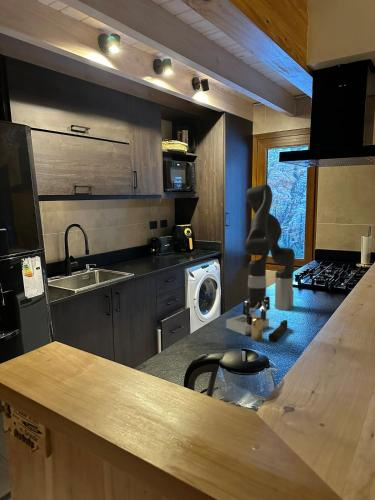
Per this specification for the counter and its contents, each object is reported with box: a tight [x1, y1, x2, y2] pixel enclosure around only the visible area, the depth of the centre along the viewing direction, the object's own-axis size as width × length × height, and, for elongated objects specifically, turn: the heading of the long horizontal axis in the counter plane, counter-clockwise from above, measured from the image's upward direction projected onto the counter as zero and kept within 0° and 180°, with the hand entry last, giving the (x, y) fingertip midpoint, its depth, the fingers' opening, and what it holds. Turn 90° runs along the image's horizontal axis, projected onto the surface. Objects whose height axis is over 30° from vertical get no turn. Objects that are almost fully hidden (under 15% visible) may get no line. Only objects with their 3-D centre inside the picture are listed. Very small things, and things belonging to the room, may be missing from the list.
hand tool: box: [268, 319, 289, 343], centre depth 154 cm, size 19×4×5 cm, turn 144°
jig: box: [225, 313, 270, 336], centre depth 164 cm, size 16×12×4 cm
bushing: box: [250, 317, 264, 342], centre depth 150 cm, size 5×5×9 cm
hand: (256, 322), depth 149 cm, fingers open, 8 cm apart
